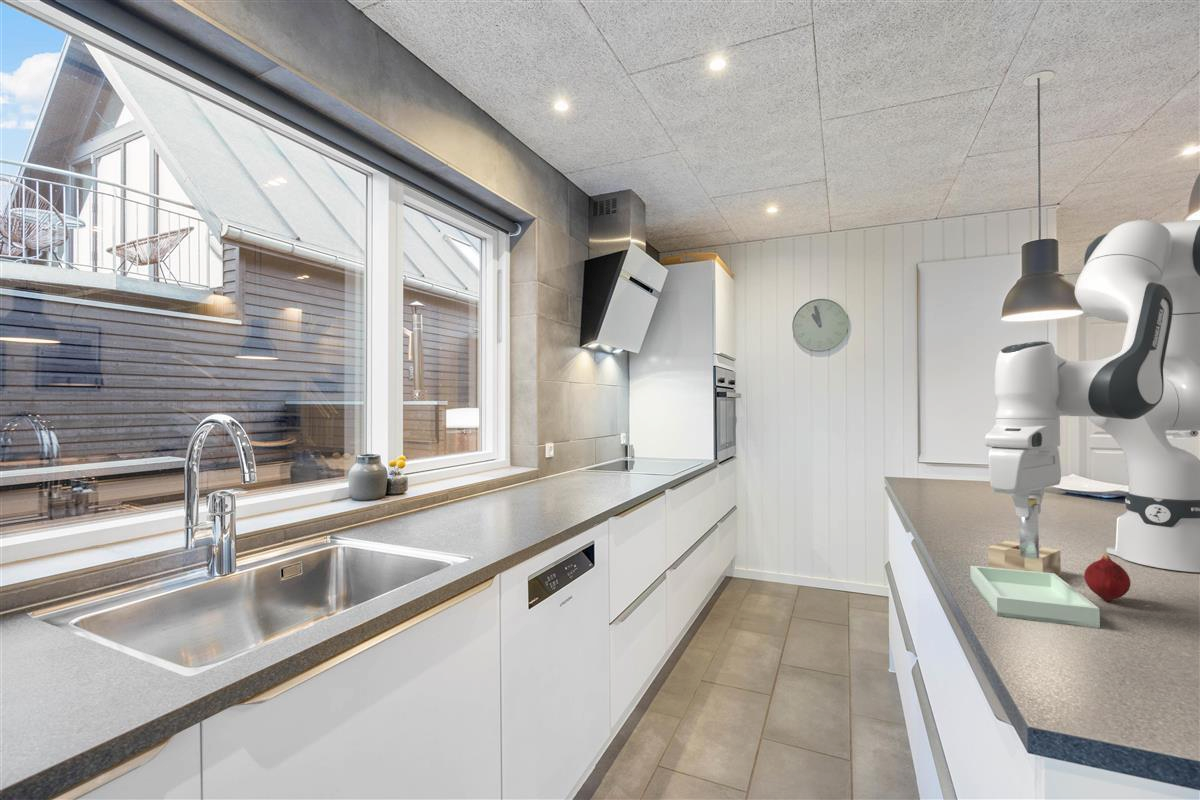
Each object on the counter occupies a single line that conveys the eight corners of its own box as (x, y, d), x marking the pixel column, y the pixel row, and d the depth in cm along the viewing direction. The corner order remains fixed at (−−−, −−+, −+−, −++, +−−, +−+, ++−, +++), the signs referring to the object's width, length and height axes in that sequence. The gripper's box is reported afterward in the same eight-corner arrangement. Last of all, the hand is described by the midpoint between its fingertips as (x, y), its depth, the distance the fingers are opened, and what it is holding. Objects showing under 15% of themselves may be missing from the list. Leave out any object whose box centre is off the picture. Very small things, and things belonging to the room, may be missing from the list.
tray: (970, 581, 104) (970, 565, 104) (1054, 589, 99) (1054, 573, 99) (997, 615, 87) (996, 597, 87) (1099, 628, 82) (1099, 608, 82)
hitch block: (1007, 563, 114) (1007, 540, 114) (1060, 575, 107) (1060, 550, 107) (988, 571, 109) (988, 547, 109) (1042, 584, 102) (1042, 557, 102)
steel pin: (1023, 553, 94) (1021, 496, 94) (1041, 556, 92) (1040, 498, 92) (1017, 556, 93) (1015, 498, 93) (1036, 559, 91) (1034, 500, 91)
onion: (1140, 608, 90) (1139, 560, 90) (1100, 606, 91) (1099, 559, 91) (1114, 595, 95) (1113, 551, 95) (1076, 594, 96) (1076, 549, 96)
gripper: (1028, 432, 101) (1030, 506, 101) (980, 436, 90) (981, 519, 90) (1071, 434, 96) (1073, 511, 96) (1025, 438, 85) (1027, 525, 84)
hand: (1028, 515), depth 93 cm, fingers closed on steel pin, 3 cm apart
